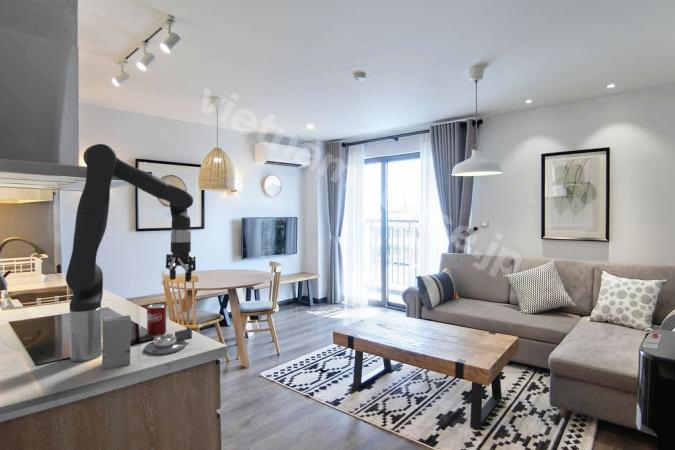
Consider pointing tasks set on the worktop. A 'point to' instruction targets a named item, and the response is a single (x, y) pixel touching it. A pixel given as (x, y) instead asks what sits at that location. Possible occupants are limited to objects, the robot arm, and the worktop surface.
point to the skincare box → (116, 341)
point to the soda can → (156, 320)
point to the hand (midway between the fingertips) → (180, 280)
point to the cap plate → (164, 349)
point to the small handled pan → (172, 338)
